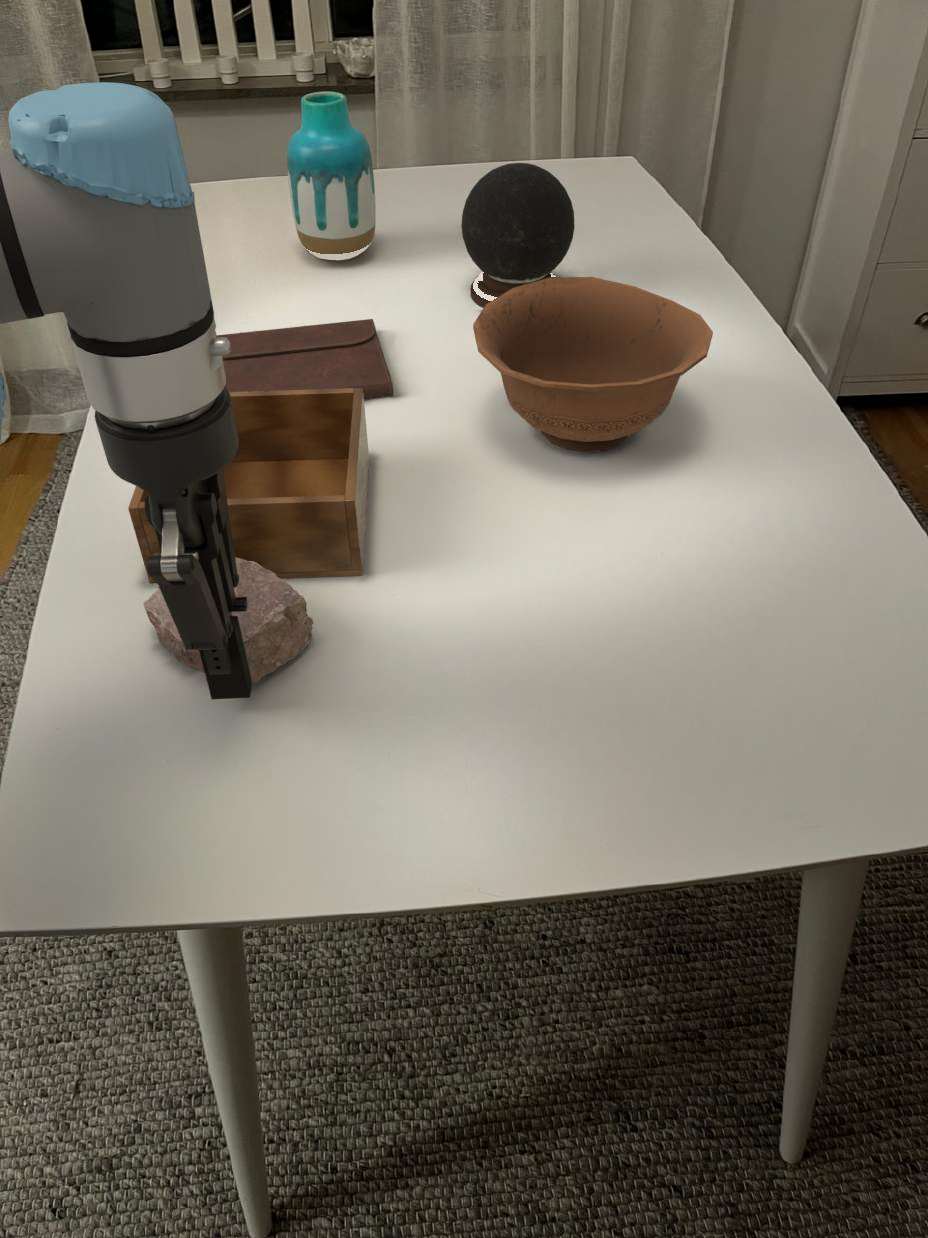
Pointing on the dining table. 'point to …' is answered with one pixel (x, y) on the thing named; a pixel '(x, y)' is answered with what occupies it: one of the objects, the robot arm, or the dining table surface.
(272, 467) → the box
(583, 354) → the bowl
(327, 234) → the vase
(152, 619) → the stone
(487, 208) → the black ball on stand
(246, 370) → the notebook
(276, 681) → the dining table surface
